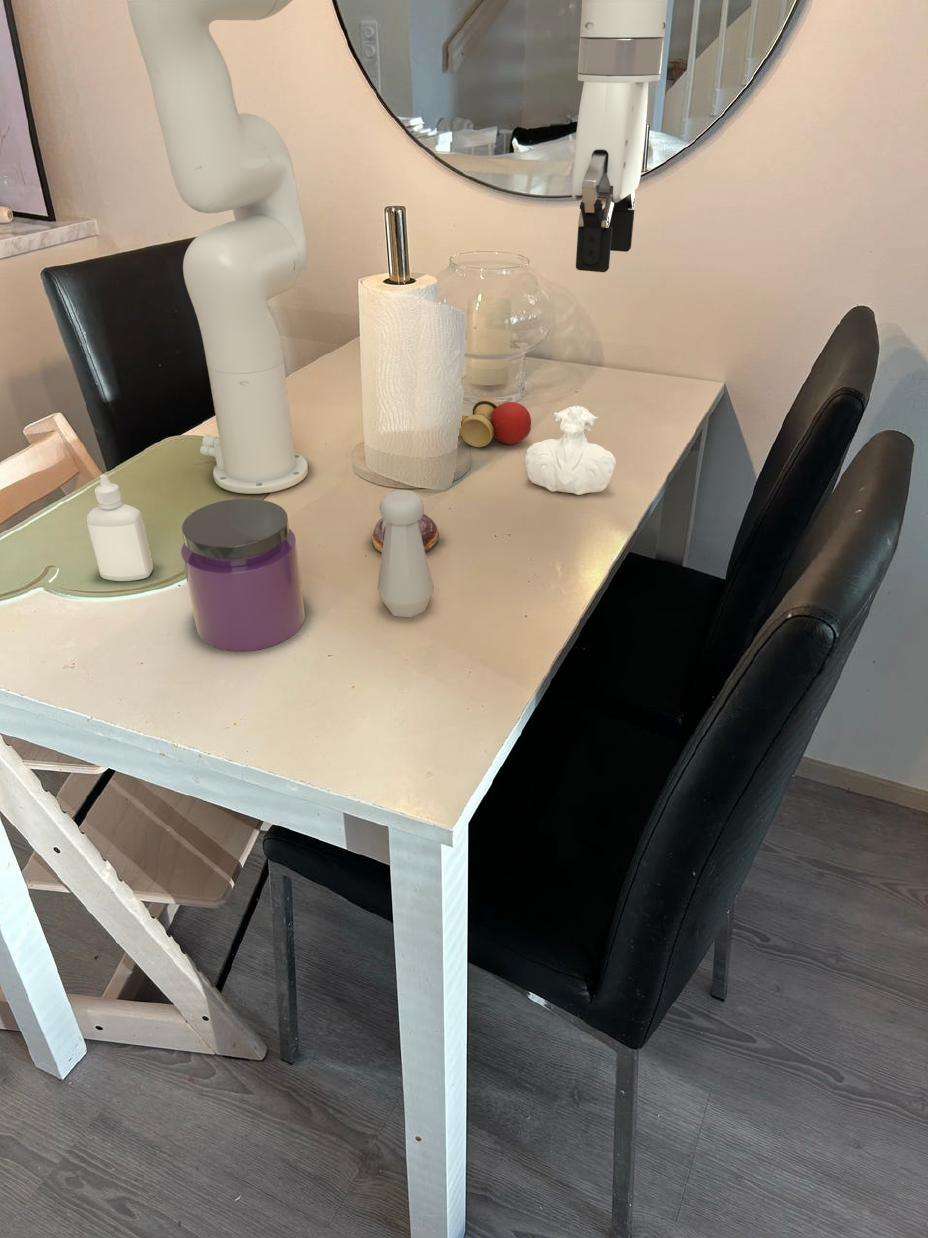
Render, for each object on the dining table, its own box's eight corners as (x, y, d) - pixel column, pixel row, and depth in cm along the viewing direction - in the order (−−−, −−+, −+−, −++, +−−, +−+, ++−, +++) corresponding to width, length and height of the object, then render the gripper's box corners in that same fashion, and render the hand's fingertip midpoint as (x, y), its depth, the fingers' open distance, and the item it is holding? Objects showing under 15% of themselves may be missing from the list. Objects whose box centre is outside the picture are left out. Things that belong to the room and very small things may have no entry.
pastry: (374, 560, 103) (371, 521, 100) (369, 529, 109) (366, 491, 106) (443, 554, 104) (442, 515, 101) (434, 524, 110) (433, 487, 107)
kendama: (406, 451, 132) (525, 448, 126) (401, 408, 129) (522, 403, 124) (423, 441, 138) (537, 437, 133) (419, 399, 136) (535, 394, 131)
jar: (174, 637, 90) (151, 537, 84) (235, 584, 99) (219, 489, 92) (269, 661, 87) (253, 558, 80) (324, 603, 95) (313, 506, 89)
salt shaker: (426, 625, 92) (422, 511, 85) (372, 619, 93) (364, 506, 86) (439, 595, 97) (436, 485, 89) (387, 589, 98) (381, 480, 90)
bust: (612, 505, 119) (627, 422, 120) (608, 492, 112) (623, 404, 112) (525, 493, 122) (539, 413, 123) (515, 480, 115) (530, 394, 115)
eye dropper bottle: (132, 589, 98) (107, 489, 91) (94, 577, 100) (67, 478, 93) (160, 571, 101) (138, 473, 94) (123, 559, 103) (99, 463, 96)
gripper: (602, 57, 89) (589, 240, 99) (553, 65, 76) (543, 276, 86) (678, 58, 87) (657, 245, 97) (641, 66, 74) (621, 282, 83)
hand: (604, 259), depth 91 cm, fingers open, 9 cm apart
